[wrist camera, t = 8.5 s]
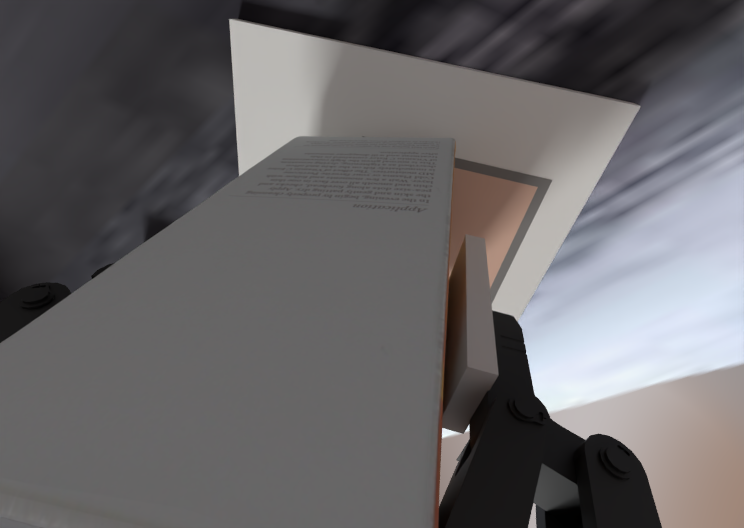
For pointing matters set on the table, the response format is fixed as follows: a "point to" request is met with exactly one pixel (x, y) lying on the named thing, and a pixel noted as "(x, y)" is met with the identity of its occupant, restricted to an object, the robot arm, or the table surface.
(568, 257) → the table surface
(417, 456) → the small box
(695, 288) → the table surface
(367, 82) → the sheet
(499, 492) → the robot arm
